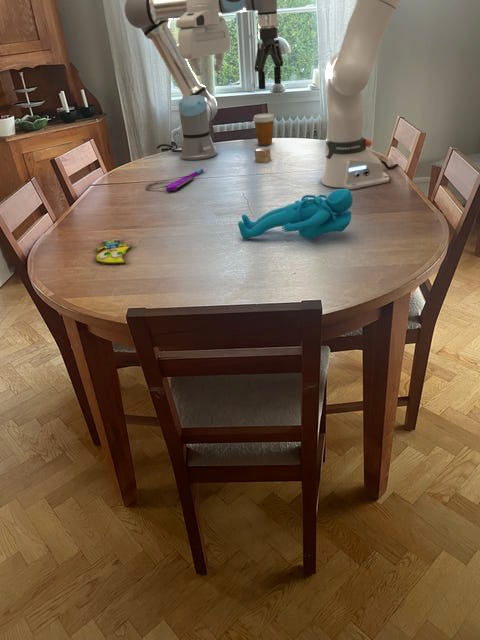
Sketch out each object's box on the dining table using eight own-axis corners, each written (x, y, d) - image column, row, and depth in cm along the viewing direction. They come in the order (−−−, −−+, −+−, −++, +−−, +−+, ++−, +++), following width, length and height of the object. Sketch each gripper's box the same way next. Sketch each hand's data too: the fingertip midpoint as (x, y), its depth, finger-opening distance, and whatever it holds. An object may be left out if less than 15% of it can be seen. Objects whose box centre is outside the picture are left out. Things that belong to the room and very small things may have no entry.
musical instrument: (142, 197, 170) (197, 185, 167) (141, 191, 169) (195, 179, 166) (155, 181, 191) (204, 170, 188) (154, 176, 190) (202, 165, 187)
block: (260, 159, 197) (260, 147, 195) (270, 160, 195) (270, 148, 193) (255, 161, 195) (254, 150, 192) (265, 162, 192) (264, 151, 190)
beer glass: (276, 145, 214) (274, 116, 208) (254, 146, 215) (253, 118, 208) (274, 140, 222) (273, 112, 216) (254, 141, 223) (252, 114, 216)
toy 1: (135, 237, 135) (125, 260, 122) (135, 240, 135) (125, 263, 123) (99, 239, 135) (85, 263, 122) (100, 242, 135) (86, 266, 123)
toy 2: (244, 202, 136) (351, 176, 125) (255, 236, 141) (358, 213, 131) (231, 226, 122) (349, 198, 112) (243, 263, 127) (358, 239, 117)
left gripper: (274, 25, 200) (276, 81, 212) (243, 30, 183) (247, 91, 195) (290, 24, 197) (291, 81, 208) (260, 29, 180) (263, 91, 191)
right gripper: (216, 16, 143) (220, 68, 151) (172, 21, 130) (179, 78, 137) (233, 15, 140) (237, 68, 148) (190, 19, 126) (196, 78, 134)
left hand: (270, 86), depth 202 cm, fingers open, 13 cm apart
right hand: (209, 73), depth 142 cm, fingers open, 8 cm apart
